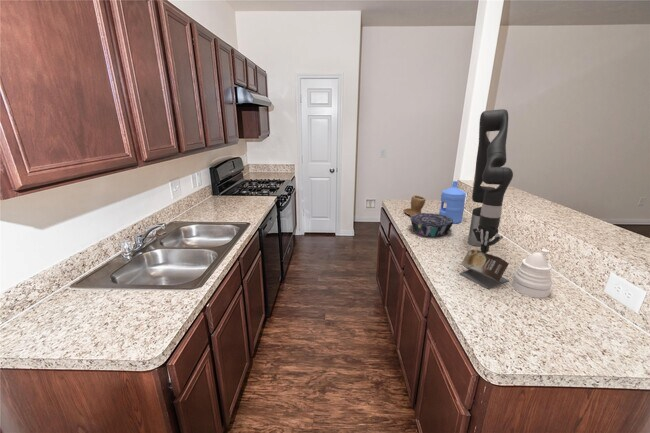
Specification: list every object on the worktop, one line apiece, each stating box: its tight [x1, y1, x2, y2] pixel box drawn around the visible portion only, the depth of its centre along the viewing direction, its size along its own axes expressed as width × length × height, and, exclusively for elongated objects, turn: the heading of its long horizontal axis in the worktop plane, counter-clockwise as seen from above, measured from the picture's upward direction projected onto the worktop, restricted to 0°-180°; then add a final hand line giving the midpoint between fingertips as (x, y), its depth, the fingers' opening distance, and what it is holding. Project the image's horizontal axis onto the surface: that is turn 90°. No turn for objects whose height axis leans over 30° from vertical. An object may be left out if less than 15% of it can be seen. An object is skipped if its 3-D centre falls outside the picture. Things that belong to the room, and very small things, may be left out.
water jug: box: [438, 180, 467, 225], centre depth 197 cm, size 16×16×28 cm
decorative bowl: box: [409, 212, 454, 238], centre depth 180 cm, size 26×28×10 cm
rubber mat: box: [459, 269, 510, 290], centre depth 126 cm, size 14×14×1 cm
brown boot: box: [403, 195, 426, 217], centre depth 211 cm, size 15×12×15 cm
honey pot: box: [511, 248, 553, 299], centre depth 115 cm, size 13×13×18 cm
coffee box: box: [460, 247, 510, 281], centre depth 124 cm, size 9×6×16 cm
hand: (483, 252), depth 124 cm, fingers closed
